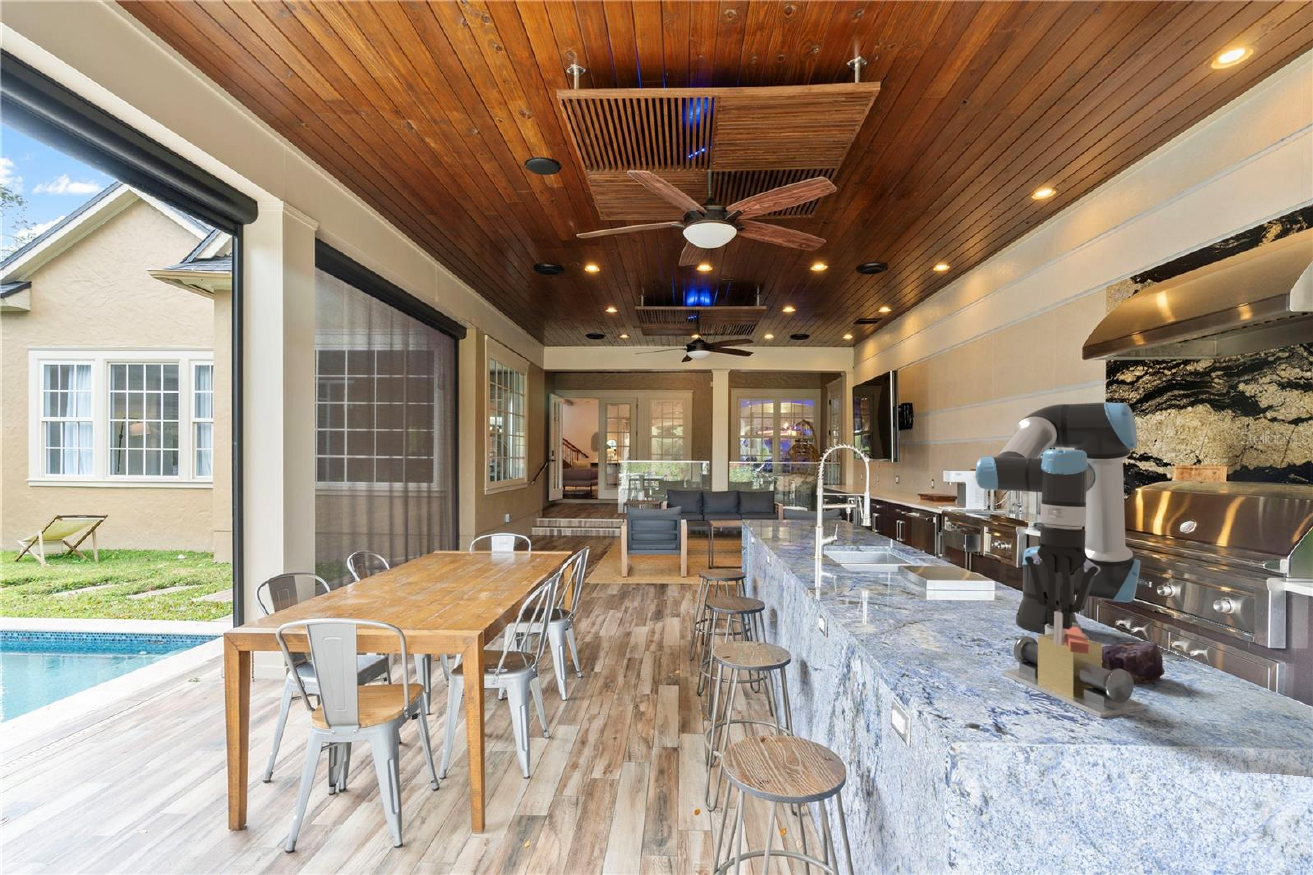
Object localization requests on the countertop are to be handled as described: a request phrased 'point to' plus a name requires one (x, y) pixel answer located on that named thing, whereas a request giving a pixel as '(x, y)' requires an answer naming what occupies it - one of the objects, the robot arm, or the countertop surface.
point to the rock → (1135, 660)
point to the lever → (1076, 640)
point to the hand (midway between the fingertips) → (1059, 643)
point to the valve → (1073, 676)
